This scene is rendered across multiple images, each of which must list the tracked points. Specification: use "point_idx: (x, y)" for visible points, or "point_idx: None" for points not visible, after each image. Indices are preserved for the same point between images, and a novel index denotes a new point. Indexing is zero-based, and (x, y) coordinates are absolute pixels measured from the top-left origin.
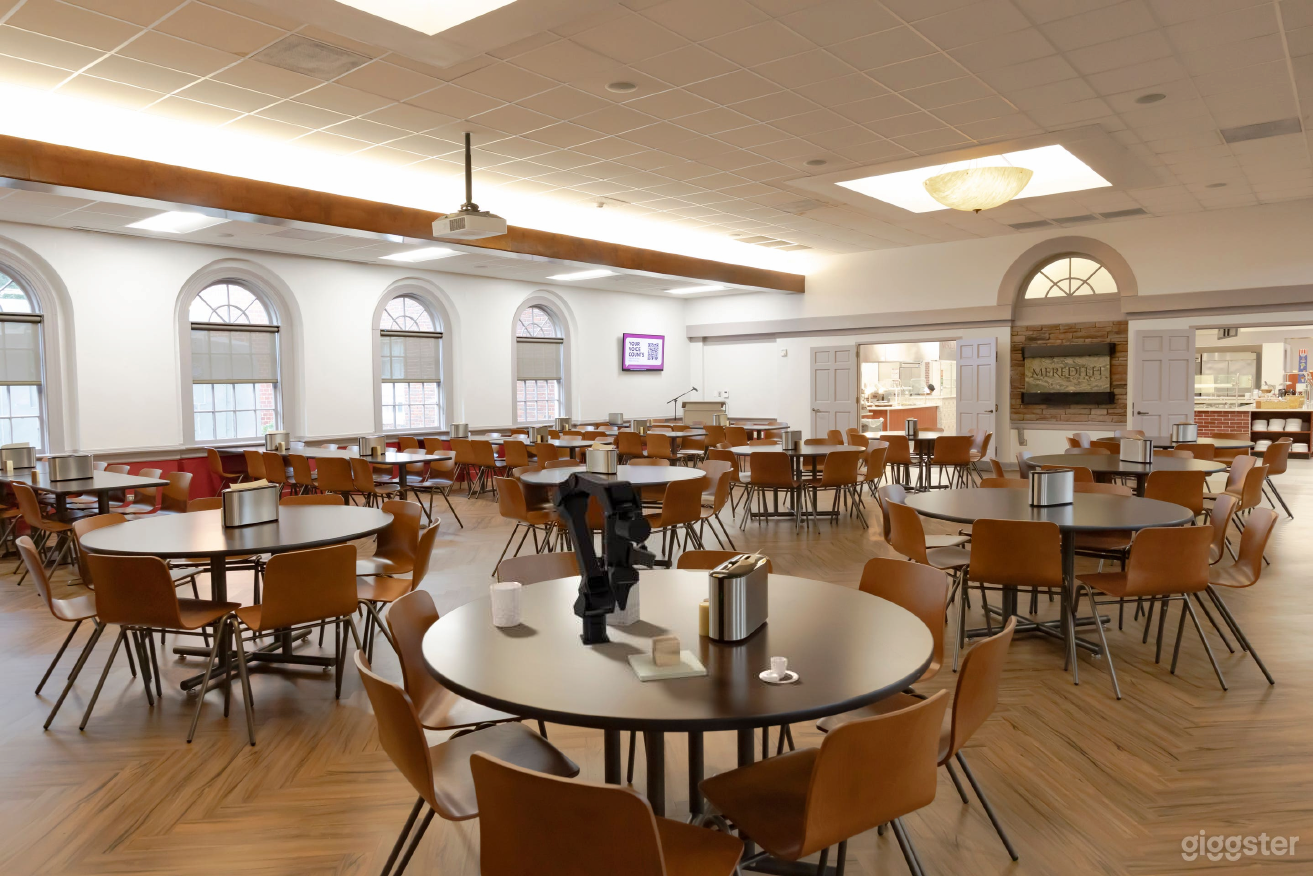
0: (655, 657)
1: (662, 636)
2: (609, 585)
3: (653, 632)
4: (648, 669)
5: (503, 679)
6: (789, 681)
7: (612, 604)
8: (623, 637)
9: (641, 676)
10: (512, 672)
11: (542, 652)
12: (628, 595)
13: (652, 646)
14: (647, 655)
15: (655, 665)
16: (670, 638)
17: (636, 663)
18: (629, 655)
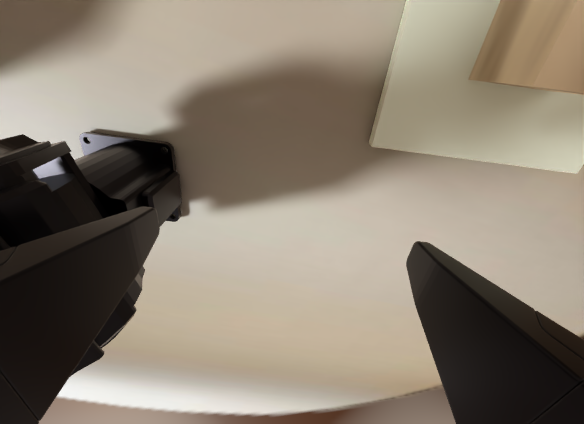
0: (543, 89)
1: (572, 19)
2: (85, 338)
3: None
4: (545, 129)
5: (355, 371)
6: None
7: (77, 183)
8: (117, 78)
9: (577, 170)
10: (326, 357)
11: (222, 302)
12: (548, 318)
13: (507, 83)
14: (410, 80)
15: (530, 91)
16: None
17: (463, 147)
18: (375, 142)
